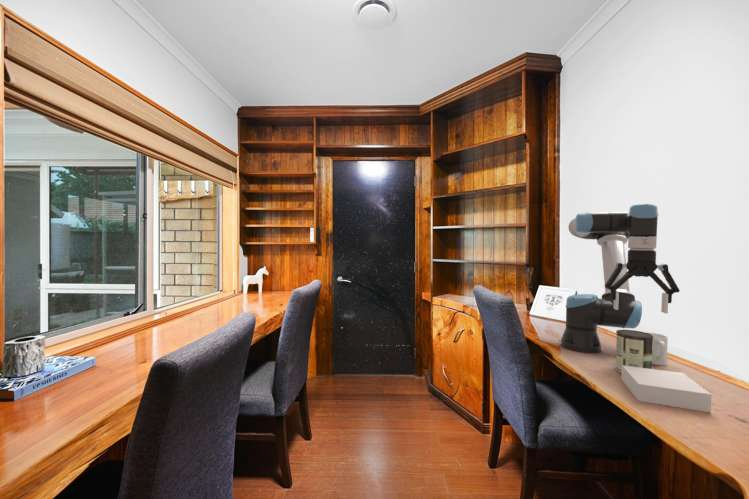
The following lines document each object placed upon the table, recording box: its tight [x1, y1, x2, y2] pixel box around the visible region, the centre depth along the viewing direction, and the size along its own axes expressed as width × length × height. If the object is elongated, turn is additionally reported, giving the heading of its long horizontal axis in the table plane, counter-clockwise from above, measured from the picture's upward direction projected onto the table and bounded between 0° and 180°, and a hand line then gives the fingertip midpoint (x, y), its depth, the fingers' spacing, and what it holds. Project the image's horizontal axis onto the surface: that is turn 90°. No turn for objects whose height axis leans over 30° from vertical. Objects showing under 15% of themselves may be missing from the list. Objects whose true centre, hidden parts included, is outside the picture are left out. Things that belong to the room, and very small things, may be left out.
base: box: [621, 365, 712, 413], centre depth 99 cm, size 16×16×5 cm
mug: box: [645, 331, 669, 366], centre depth 125 cm, size 12×8×10 cm, turn 159°
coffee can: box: [615, 329, 653, 374], centre depth 117 cm, size 10×10×14 cm
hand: (639, 310), depth 113 cm, fingers open, 13 cm apart
